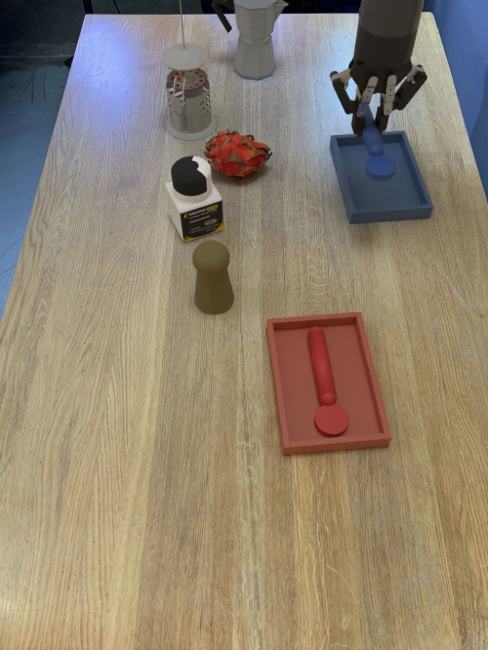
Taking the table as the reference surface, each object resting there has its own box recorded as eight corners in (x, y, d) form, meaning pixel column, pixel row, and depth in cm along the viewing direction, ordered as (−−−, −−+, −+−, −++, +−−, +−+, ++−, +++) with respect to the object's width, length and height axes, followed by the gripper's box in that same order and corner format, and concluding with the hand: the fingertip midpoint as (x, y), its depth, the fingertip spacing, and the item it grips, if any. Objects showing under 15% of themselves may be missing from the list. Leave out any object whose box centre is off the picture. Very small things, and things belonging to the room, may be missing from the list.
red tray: (358, 321, 88) (360, 311, 86) (388, 446, 77) (391, 438, 75) (266, 328, 87) (266, 318, 85) (283, 455, 76) (284, 447, 74)
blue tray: (402, 141, 111) (405, 130, 109) (430, 218, 100) (434, 207, 98) (329, 146, 110) (330, 135, 108) (349, 224, 99) (351, 213, 97)
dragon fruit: (200, 174, 108) (265, 181, 110) (200, 179, 100) (271, 187, 102) (204, 125, 106) (271, 133, 107) (205, 126, 98) (278, 135, 99)
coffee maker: (288, 59, 126) (294, -31, 111) (280, 84, 121) (285, -7, 106) (220, 51, 128) (216, -39, 113) (209, 75, 123) (203, -16, 108)
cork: (206, 277, 93) (201, 228, 84) (241, 291, 91) (240, 242, 82) (187, 305, 90) (180, 257, 81) (222, 320, 88) (219, 273, 79)
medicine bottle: (183, 243, 97) (176, 188, 87) (168, 214, 101) (159, 158, 91) (224, 230, 98) (221, 174, 89) (208, 202, 102) (203, 145, 92)
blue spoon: (344, 110, 93) (346, 96, 91) (372, 108, 93) (374, 94, 91) (367, 182, 84) (370, 169, 82) (398, 180, 84) (402, 166, 82)
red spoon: (298, 333, 86) (299, 324, 84) (328, 331, 87) (330, 321, 85) (316, 439, 77) (318, 431, 75) (350, 436, 77) (353, 428, 75)
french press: (221, 110, 116) (215, -25, 96) (209, 149, 110) (200, 14, 89) (172, 105, 117) (156, -30, 97) (157, 143, 111) (136, 8, 90)
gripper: (340, 39, 73) (326, 153, 87) (452, 30, 73) (420, 145, 88) (328, 6, 77) (317, 121, 91) (434, -1, 77) (406, 113, 92)
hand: (367, 132), depth 89 cm, fingers closed on blue spoon, 2 cm apart
